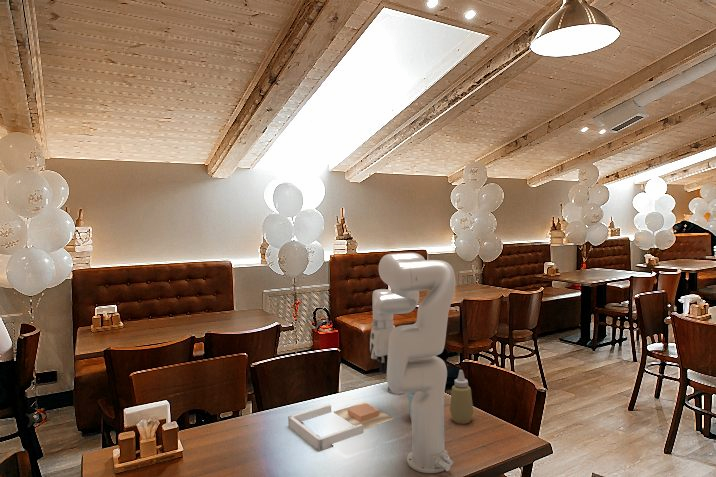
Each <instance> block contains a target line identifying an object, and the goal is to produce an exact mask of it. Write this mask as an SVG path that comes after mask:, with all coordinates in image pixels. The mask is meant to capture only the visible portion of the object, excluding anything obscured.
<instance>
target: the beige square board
mask: <svg viewBox="0 0 716 477" xmlns="http://www.w3.org/2000/svg"><path fill="white" fill-rule="evenodd" d="M365 403H366V404H368V405H370V404H369V403H367V402H366V401H364V402H360V403H358V404H354V405H352V406H349V407H345V408H341V409H339V410H336V411H333V413H334V414H336V415H337V416H339V417H340V418H342V419H344V420H345V421H347V422H348V423H350V424H351V425H353V426H356V425H359V424H362V425H363V431H364V430H366V429H369V428H372V427H374V426H377V425H381V424H383V423H386V422H388V421H389V422H390V421H392V420H394V419H395V418H394V417H393V416H390V415H389V414H386V413H385V412H383V411H381V410H380V409H378V408H376V407H374V406H373V405H370V406H371V407H373V408H375V409H377V410H379V416H378V417H375V418H372V419H369V420H366V421H363V422H359V421H358V420H356V419H354V418H353V417H351V416H350V415H348V409H349V408H353V407H356V406H359V405H362V404H365Z"/></svg>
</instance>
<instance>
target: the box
mask: <svg viewBox="0 0 716 477" xmlns="http://www.w3.org/2000/svg"><path fill="white" fill-rule="evenodd" d="M330 413H332V405H331V404H326V405H323V406H319V407H316V408H312V409H308V410H305V411H303V412H300V413H296V414H292V415H289V416H288V417H287V418H288V427H289V429H291V430H292V431H294V432H295V433H296V434H297V435H299V436H300V437H301V438H302V439H304V440H305V441H306V442H308V444H309V445H311V446H312V447H313V448H315V449H316V450H317V451H319V452H321V451H323V450H326V449H329V448H333V447H334V444H335V443H338V442H341V441H344V440H347V439H349V438H352V437H355V436H358V435H361V434H363V433H364V430H363V425H362V424H359V425H356V426H354V425H353V426H350V427H348V428H345V429H342V430H339V431H337V432H333V433H331V434H327V435H325V436H319V435H318V434H317V433H315V432H314V431H313V430H311V429H310V428H308V427H307V426H306V425H304V422H305V421H307V420H310V419H314V418H317V417H320V416H323V415H326V414H330Z"/></svg>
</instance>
